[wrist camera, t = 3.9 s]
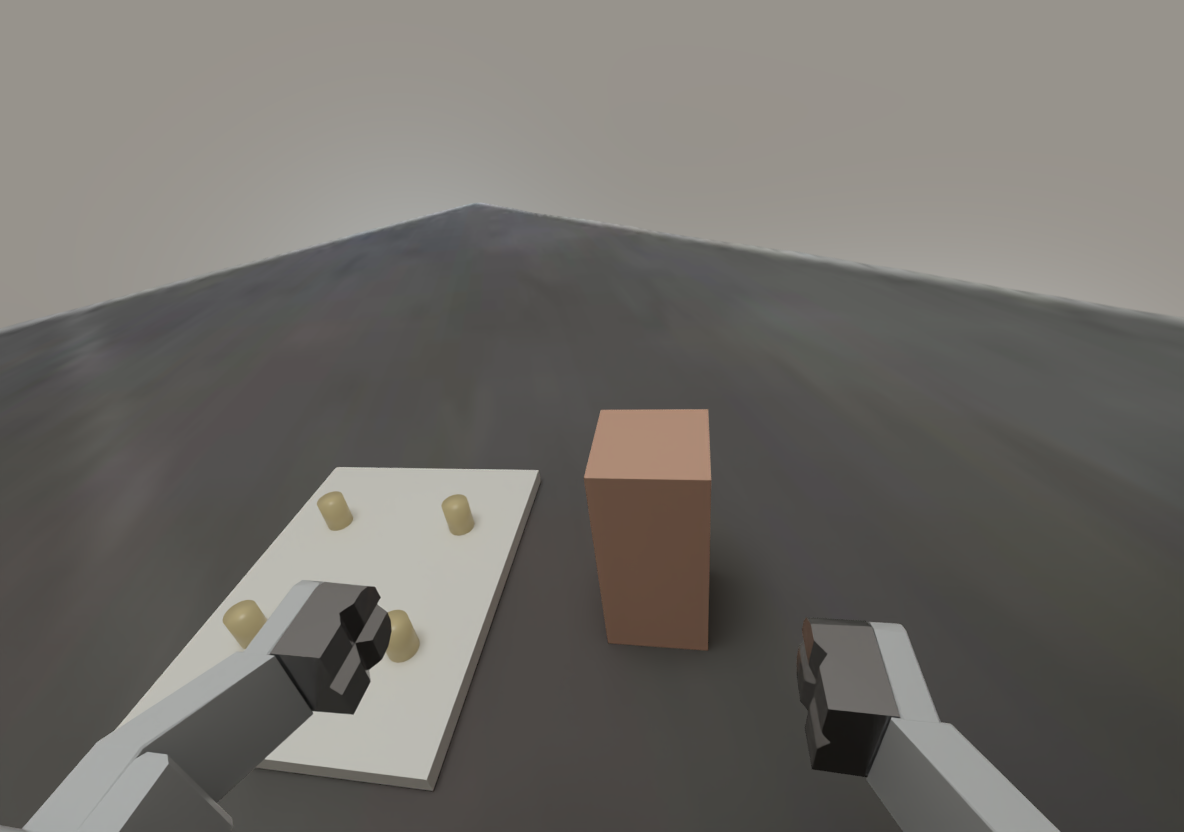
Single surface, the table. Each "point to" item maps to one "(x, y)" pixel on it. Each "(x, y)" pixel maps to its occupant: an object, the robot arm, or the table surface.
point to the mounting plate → (408, 593)
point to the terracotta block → (652, 525)
